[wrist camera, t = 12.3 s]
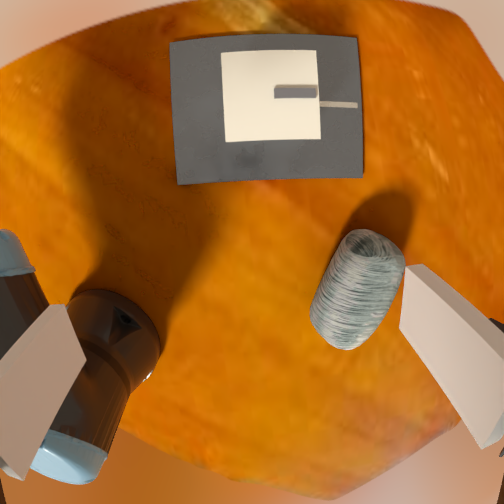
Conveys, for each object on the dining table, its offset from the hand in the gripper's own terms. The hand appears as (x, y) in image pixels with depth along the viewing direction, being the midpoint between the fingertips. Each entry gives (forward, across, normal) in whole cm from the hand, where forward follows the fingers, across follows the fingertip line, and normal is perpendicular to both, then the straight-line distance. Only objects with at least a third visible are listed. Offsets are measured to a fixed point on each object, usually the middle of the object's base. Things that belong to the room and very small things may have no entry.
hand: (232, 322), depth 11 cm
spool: (+25, +12, -11) cm, 30 cm away
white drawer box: (+24, +4, +10) cm, 26 cm away
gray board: (+25, +4, +10) cm, 27 cm away
